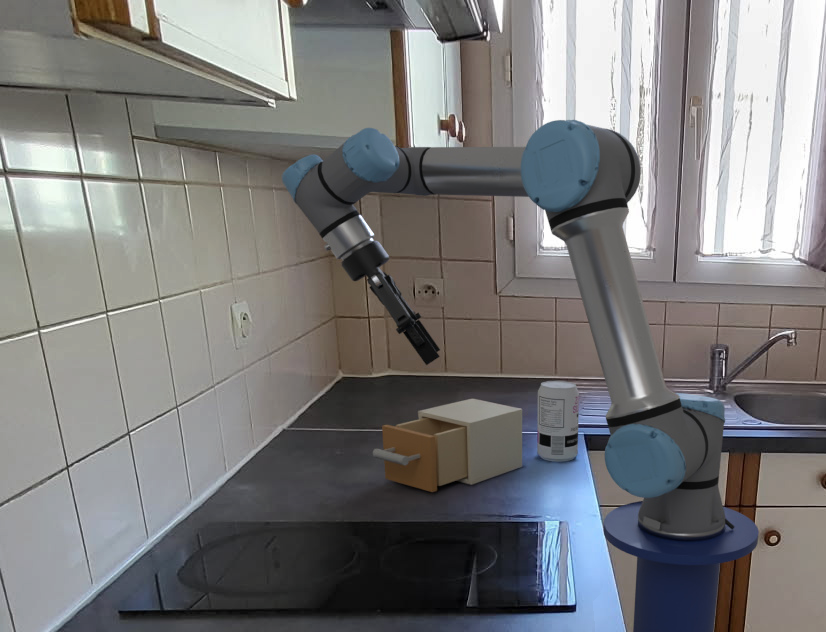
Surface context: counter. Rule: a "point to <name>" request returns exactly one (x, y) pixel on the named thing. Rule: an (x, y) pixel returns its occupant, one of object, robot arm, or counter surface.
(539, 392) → the supplement can
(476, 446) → the cabinet
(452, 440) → the drawer
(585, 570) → the counter surface
